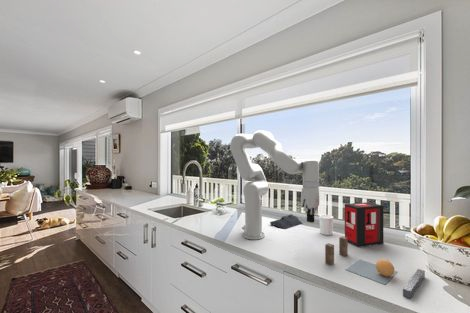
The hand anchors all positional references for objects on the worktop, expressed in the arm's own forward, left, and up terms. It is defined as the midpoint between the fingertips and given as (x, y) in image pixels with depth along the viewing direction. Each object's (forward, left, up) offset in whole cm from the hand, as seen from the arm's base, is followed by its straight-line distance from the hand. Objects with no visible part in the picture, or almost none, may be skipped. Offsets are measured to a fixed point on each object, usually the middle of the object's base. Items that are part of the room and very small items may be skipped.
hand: (310, 221), depth 112 cm
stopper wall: (+41, 0, -14) cm, 43 cm away
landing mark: (+27, 0, -14) cm, 30 cm away
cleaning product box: (+13, +30, -14) cm, 36 cm away
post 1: (+13, -6, -14) cm, 20 cm away
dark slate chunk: (-34, +25, -15) cm, 45 cm away
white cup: (-7, +28, -14) cm, 32 cm away
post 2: (+13, +7, -14) cm, 20 cm away
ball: (+32, 0, -11) cm, 34 cm away
